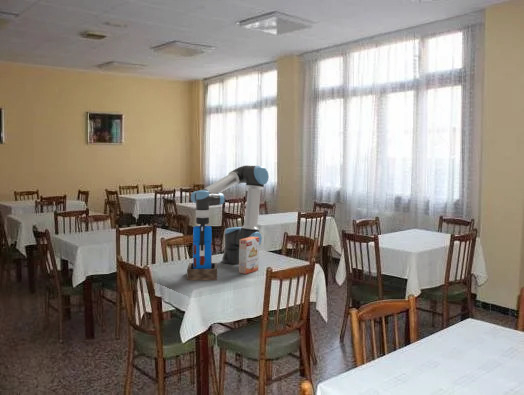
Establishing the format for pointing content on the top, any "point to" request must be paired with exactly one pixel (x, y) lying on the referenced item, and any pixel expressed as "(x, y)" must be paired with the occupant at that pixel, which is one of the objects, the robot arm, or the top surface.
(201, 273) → the open wooden box
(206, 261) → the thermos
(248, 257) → the cracker box
